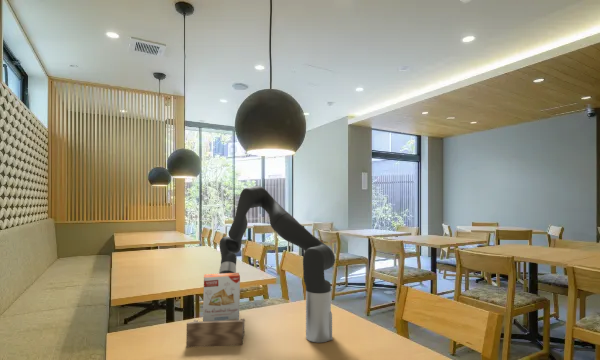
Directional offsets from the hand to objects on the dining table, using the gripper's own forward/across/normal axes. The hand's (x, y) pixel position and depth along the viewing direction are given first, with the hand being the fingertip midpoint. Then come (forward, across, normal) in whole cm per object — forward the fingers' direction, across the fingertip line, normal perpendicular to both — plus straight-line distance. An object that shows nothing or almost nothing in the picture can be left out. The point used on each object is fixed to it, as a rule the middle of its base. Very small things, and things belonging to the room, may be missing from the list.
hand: (223, 311), depth 138 cm
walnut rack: (+14, 0, -7) cm, 16 cm away
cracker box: (+7, 0, 0) cm, 7 cm away
